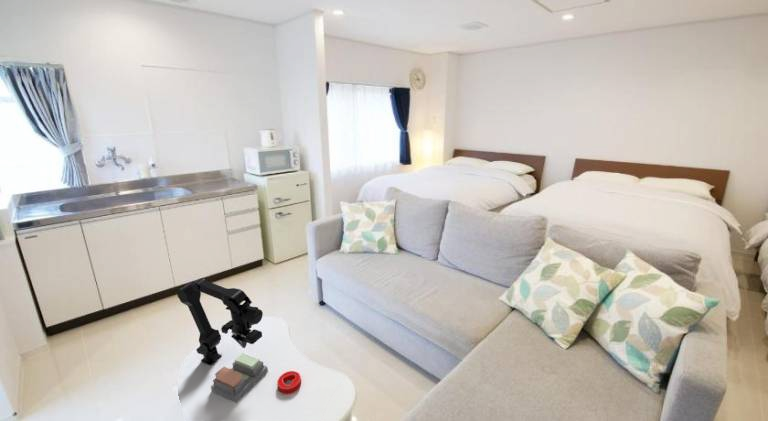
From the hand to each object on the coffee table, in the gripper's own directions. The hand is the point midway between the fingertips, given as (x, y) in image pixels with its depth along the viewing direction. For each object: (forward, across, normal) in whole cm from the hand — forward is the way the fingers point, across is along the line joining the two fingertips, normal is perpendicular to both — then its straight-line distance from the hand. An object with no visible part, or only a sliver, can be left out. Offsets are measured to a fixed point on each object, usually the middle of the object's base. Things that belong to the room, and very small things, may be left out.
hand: (244, 347), depth 148 cm
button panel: (+12, -3, +7) cm, 14 cm away
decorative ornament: (+12, -24, -1) cm, 26 cm away
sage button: (+8, -3, +2) cm, 9 cm away
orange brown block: (+7, -3, +12) cm, 14 cm away
